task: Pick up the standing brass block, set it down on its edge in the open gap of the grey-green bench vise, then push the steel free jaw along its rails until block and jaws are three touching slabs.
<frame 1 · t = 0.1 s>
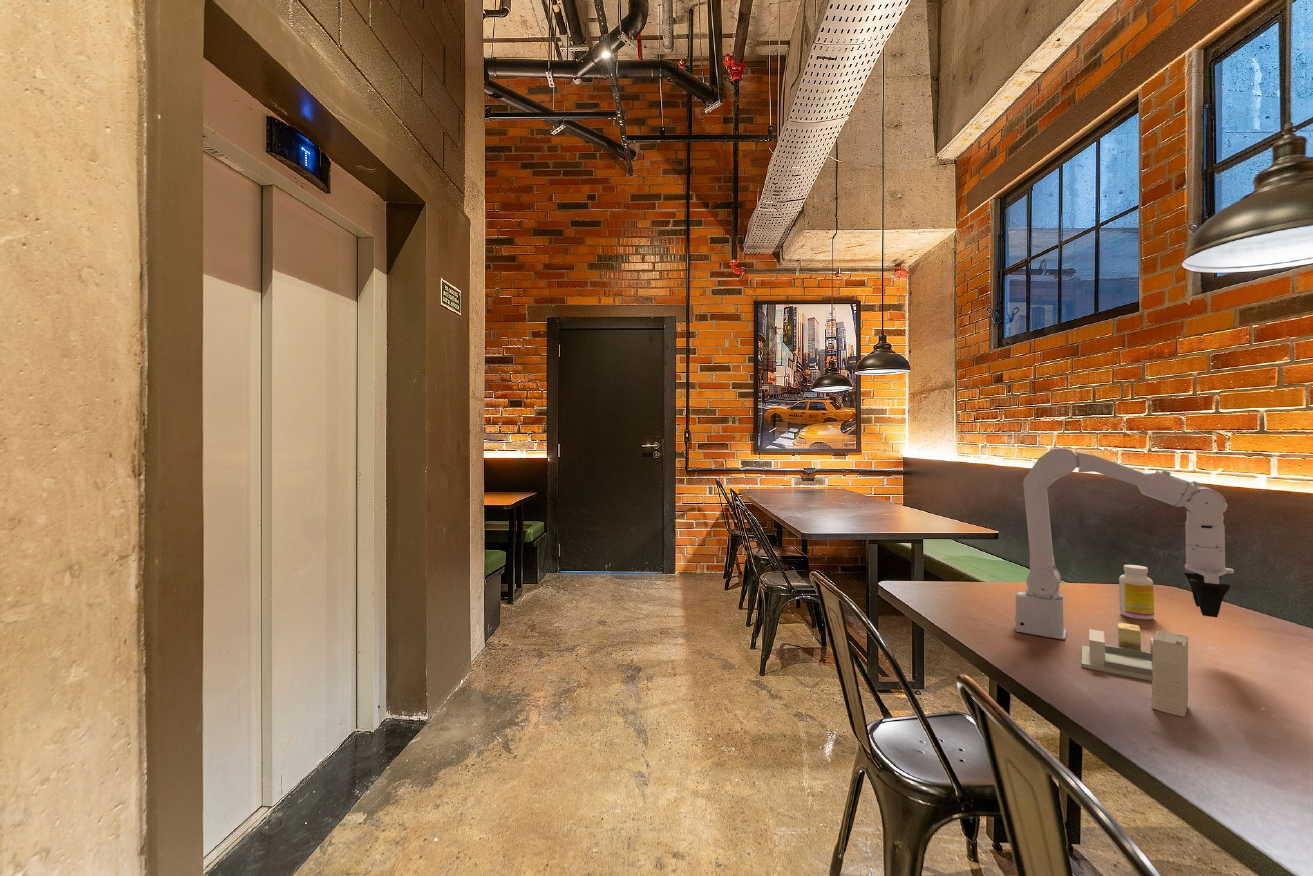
hand: (1206, 611, 112), 10 cm above the table, fingers open, 7 cm apart
supplement bottle: (1136, 617, 140), on the table
block: (1129, 652, 117), on the table
vise: (1125, 666, 110), on the table
free jaw: (1160, 653, 106), point 4 cm above the table, slide at 0.0 cm
skincare box: (1170, 709, 92), on the table
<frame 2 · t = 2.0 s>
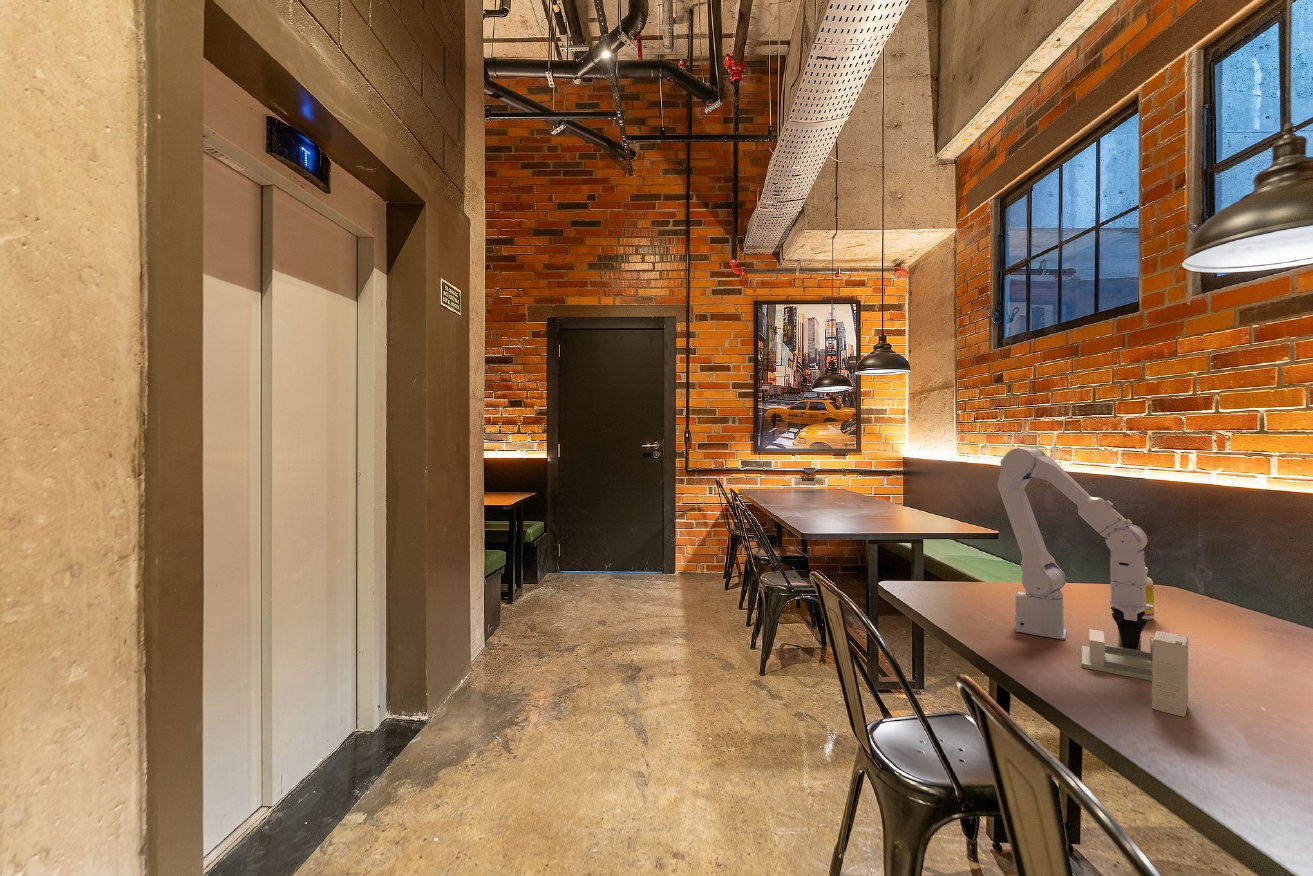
hand: (1129, 645, 117), 1 cm above the table, fingers closed on block, 4 cm apart
block: (1129, 652, 117), on the table, touching gripper
everything else where it was.
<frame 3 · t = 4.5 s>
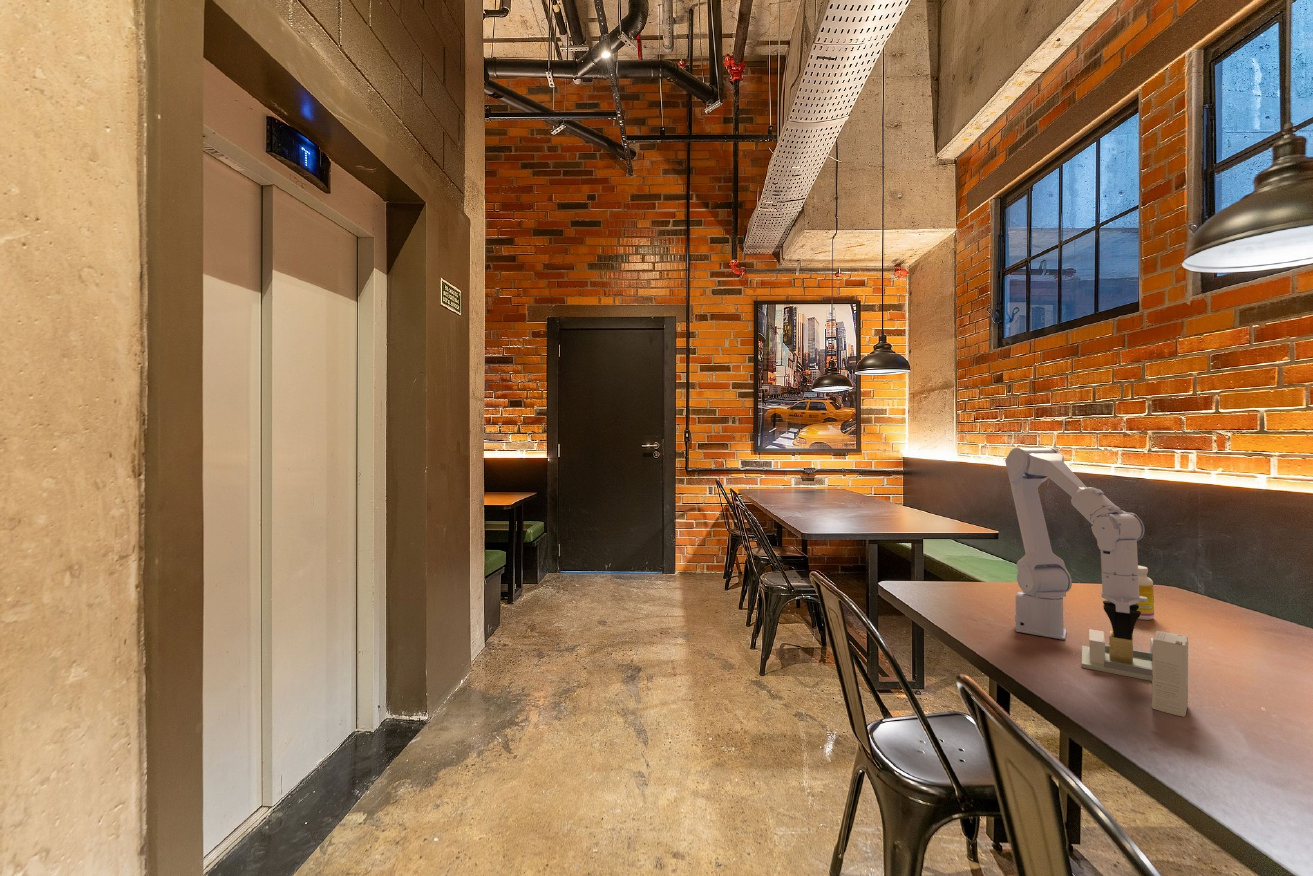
hand: (1122, 641, 110), 5 cm above the table, fingers closed on block, 3 cm apart
block: (1121, 662, 109), point 1 cm above the table, touching gripper, vise
everything else where it was.
when the fingers open (3 cm above the table, at t = 5.2 s): block stays where it is, resting on vise.
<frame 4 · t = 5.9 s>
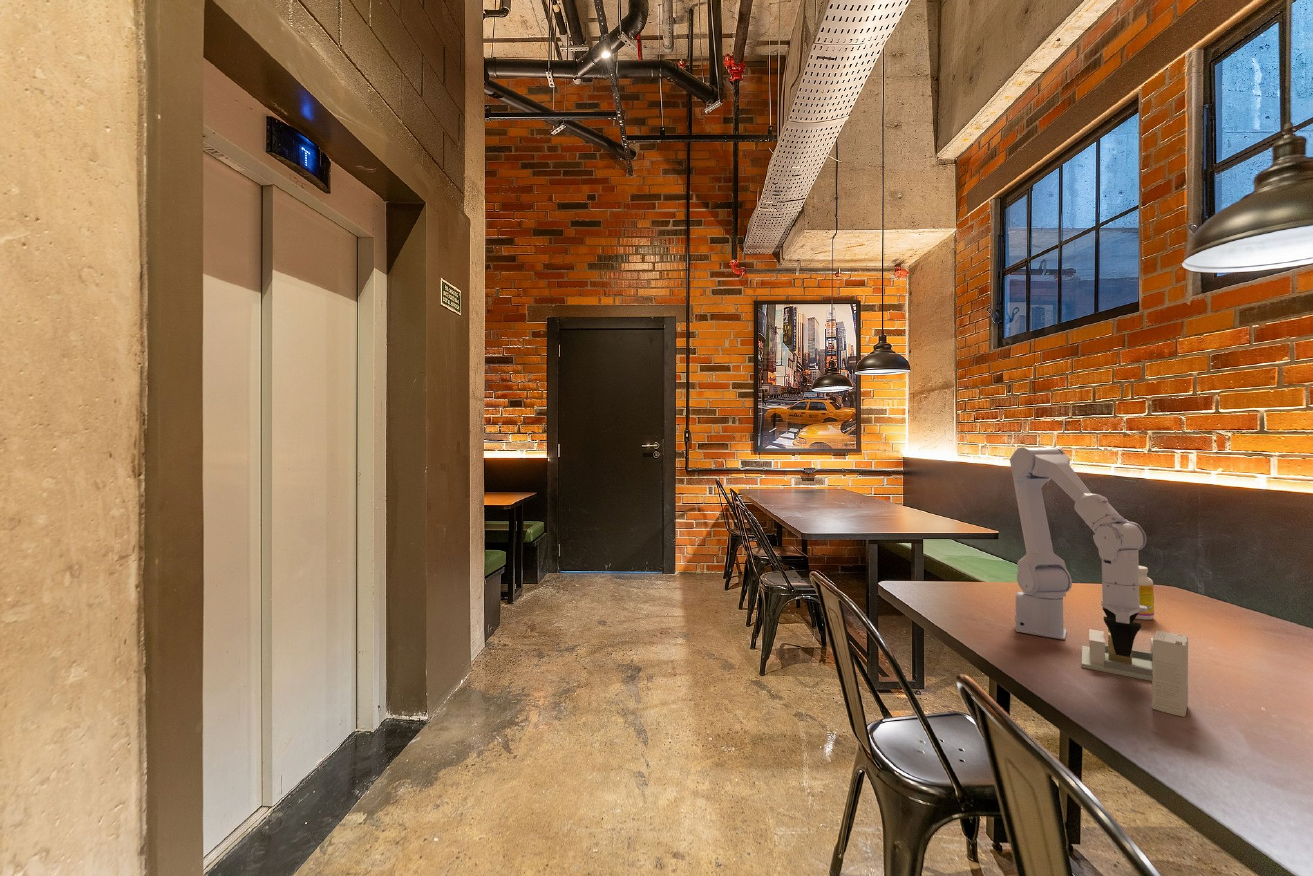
hand: (1121, 649, 110), 3 cm above the table, fingers open, 7 cm apart
block: (1119, 661, 110), point 1 cm above the table, touching vise
everything else where it was.
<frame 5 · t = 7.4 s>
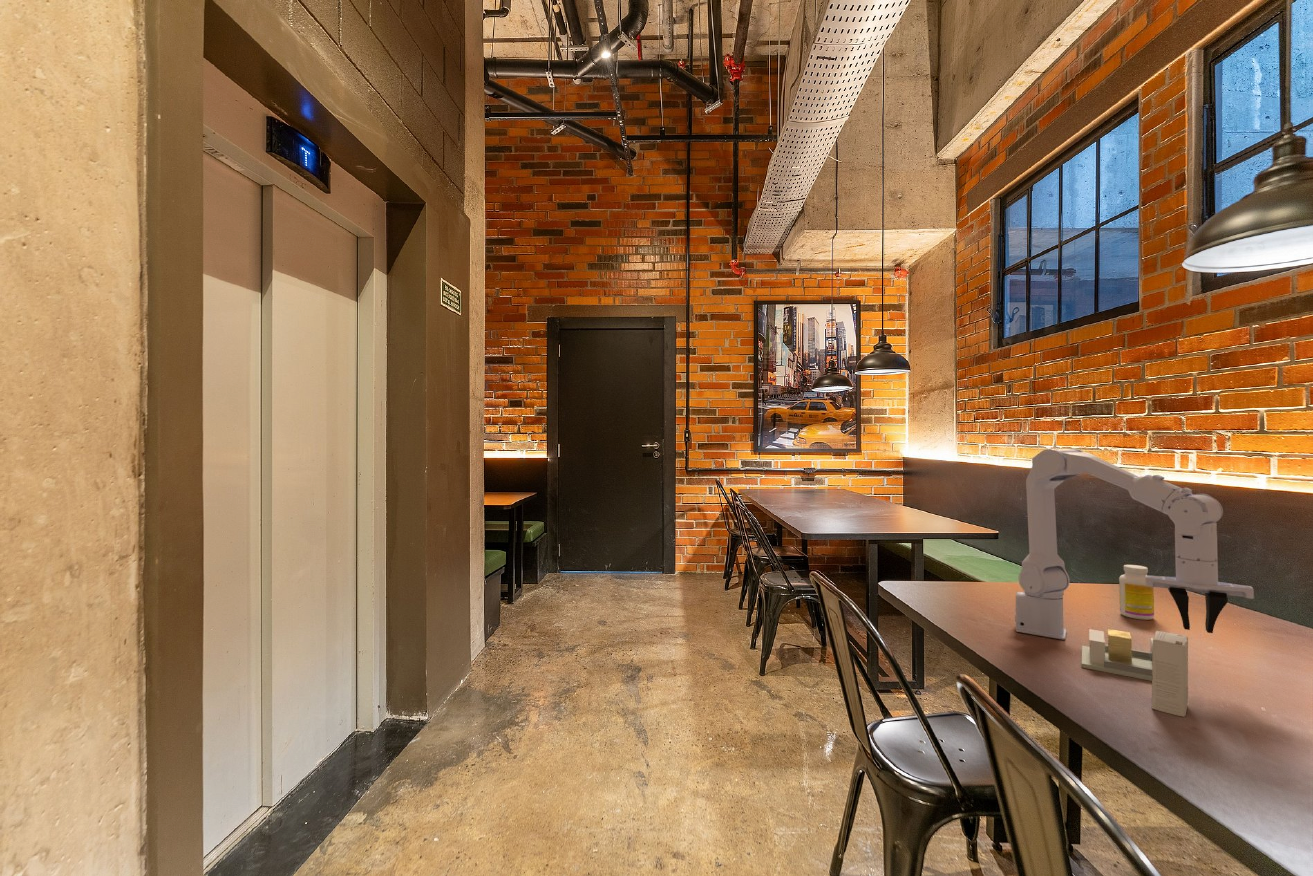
hand: (1197, 630, 103), 9 cm above the table, fingers closed
nothing on the table moved.
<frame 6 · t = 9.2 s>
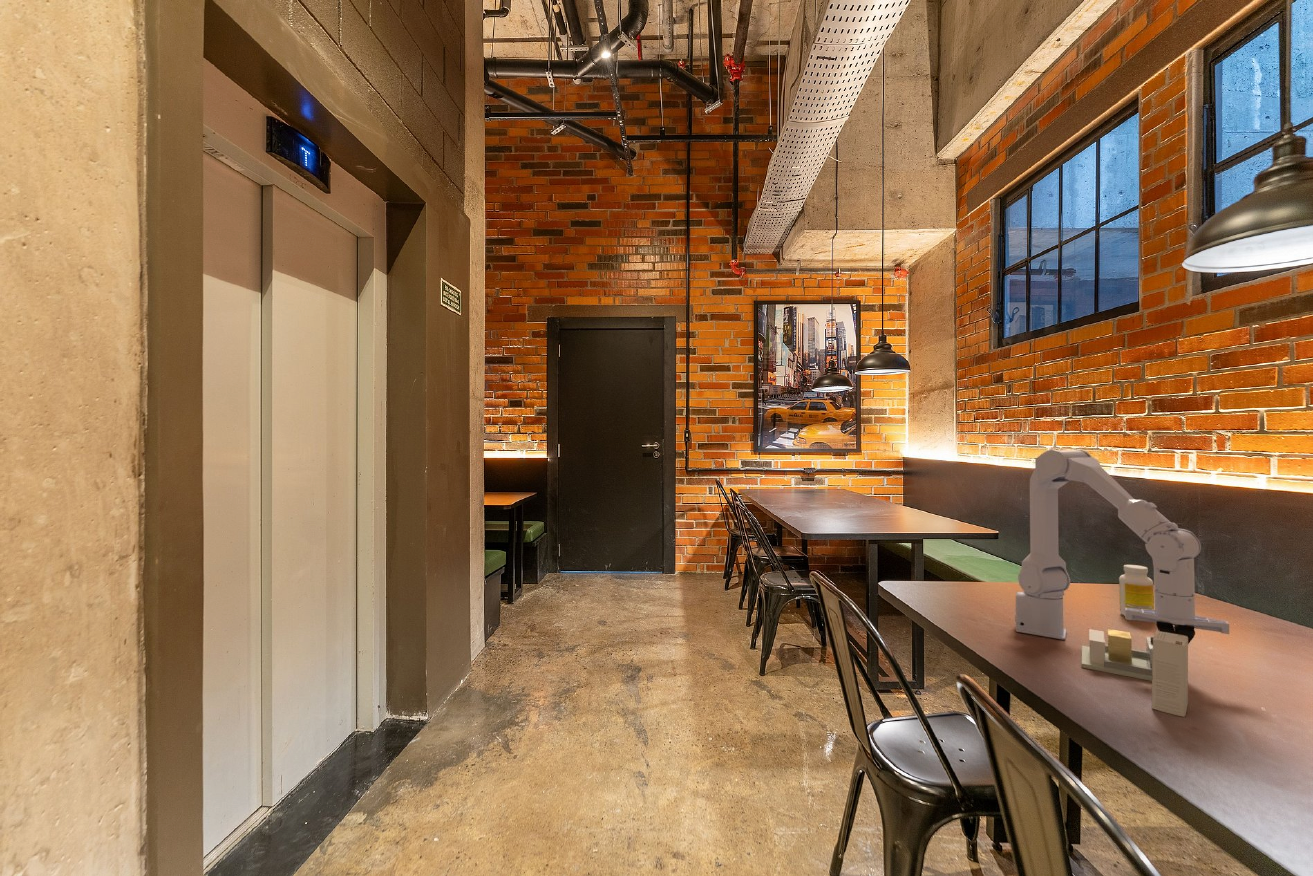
hand: (1175, 663, 105), 2 cm above the table, fingers closed
free jaw: (1156, 652, 107), point 4 cm above the table, slide at 0.6 cm, touching gripper
everything else where it was.
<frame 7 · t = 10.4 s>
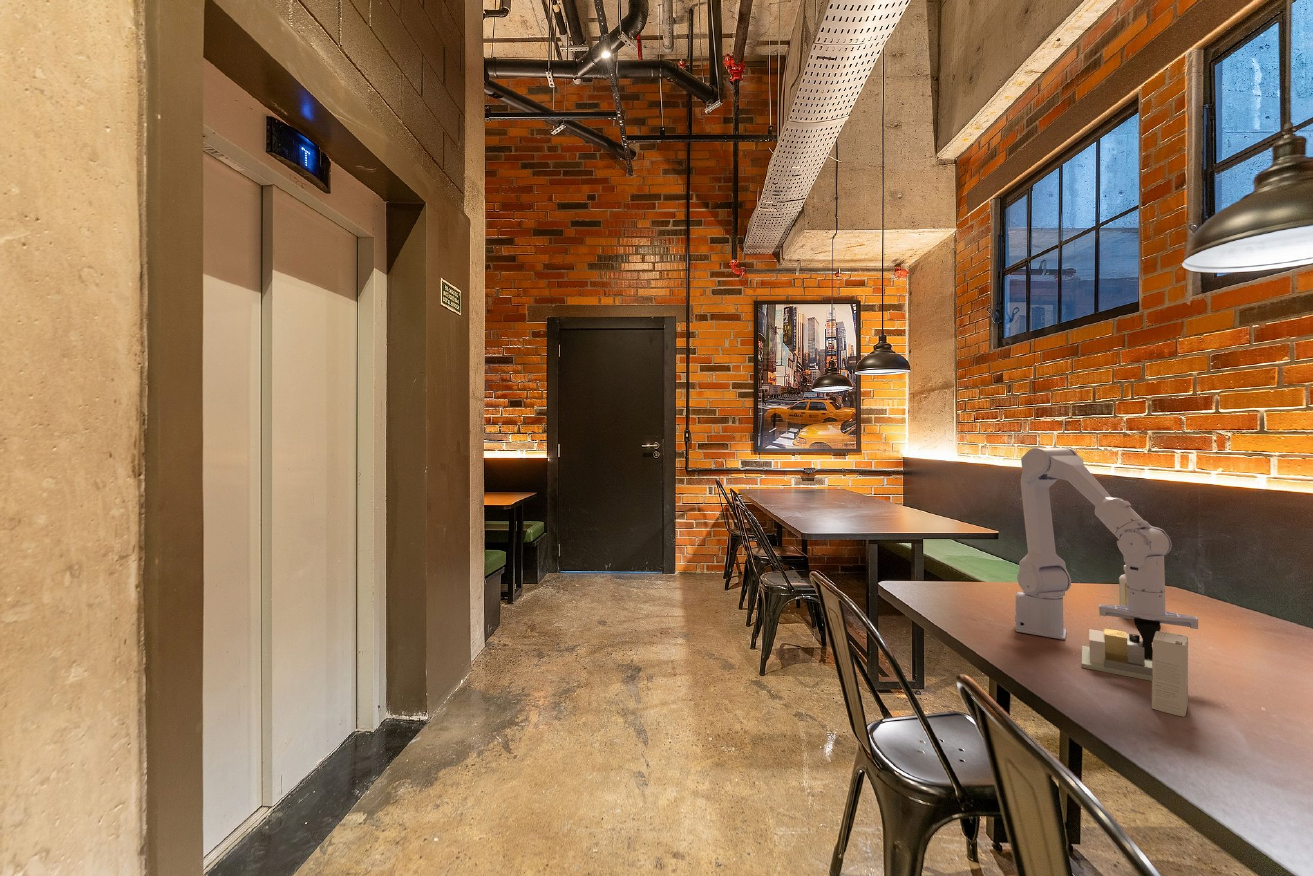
hand: (1147, 657, 108), 2 cm above the table, fingers closed, pressing on free jaw
block: (1115, 660, 111), point 1 cm above the table, touching free jaw, vise
free jaw: (1134, 648, 109), point 4 cm above the table, slide at 3.8 cm, touching block, gripper
everything else where it was.
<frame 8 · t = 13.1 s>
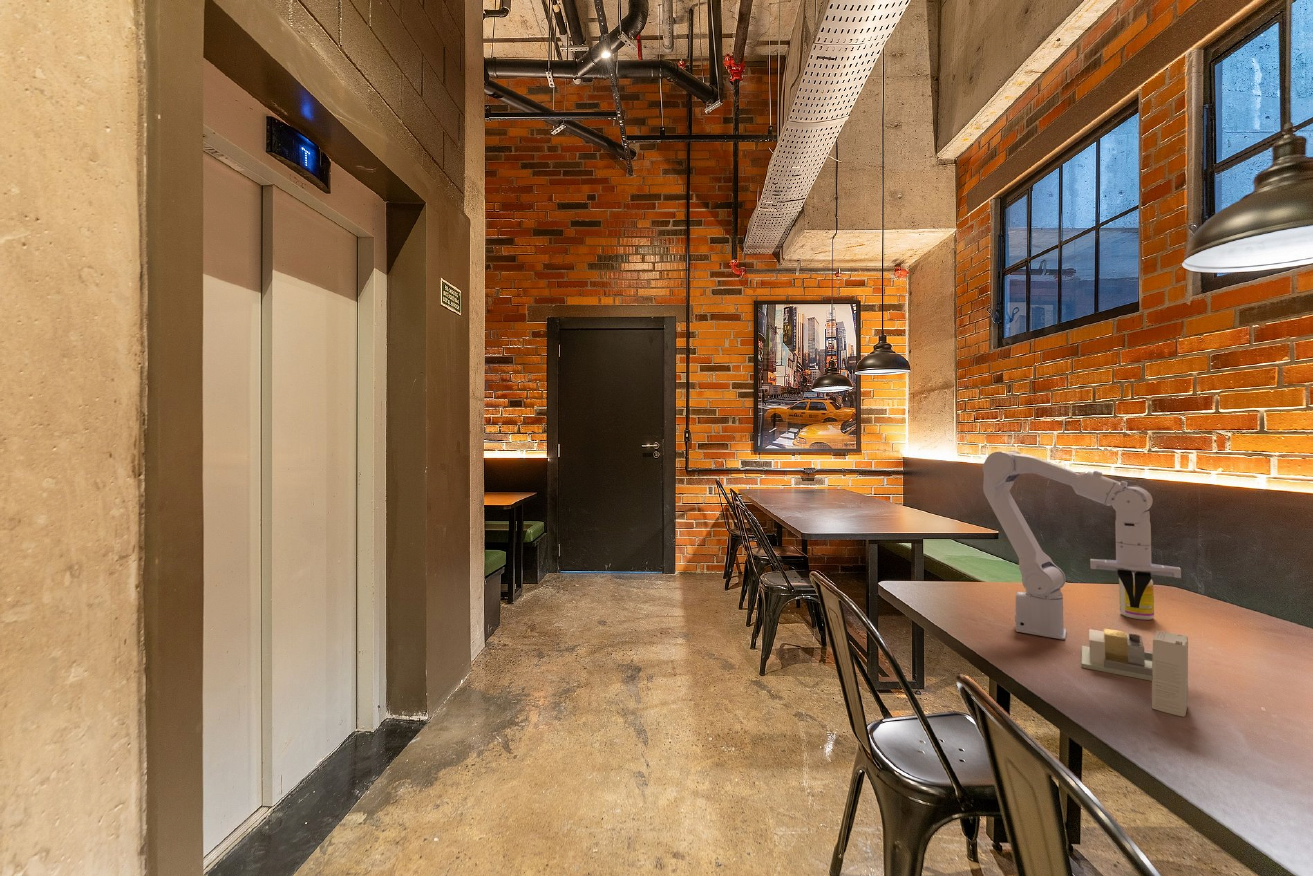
hand: (1134, 606, 116), 10 cm above the table, fingers closed
free jaw: (1134, 648, 109), point 4 cm above the table, slide at 3.8 cm, touching block
everything else where it was.
at the end: block 0.1 cm from the target spot on the vise, point 0.8 cm above the vise's base; free jaw slide at 3.8 cm; block tilted 0° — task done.
